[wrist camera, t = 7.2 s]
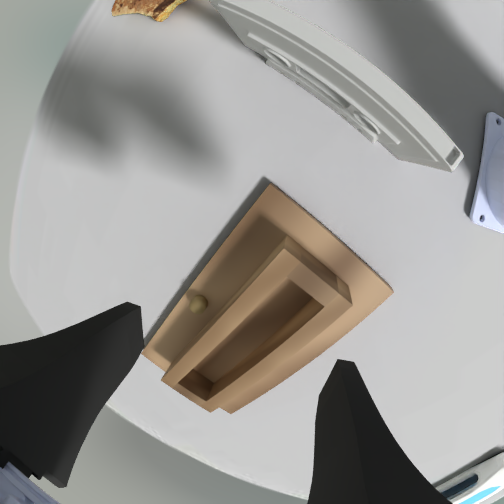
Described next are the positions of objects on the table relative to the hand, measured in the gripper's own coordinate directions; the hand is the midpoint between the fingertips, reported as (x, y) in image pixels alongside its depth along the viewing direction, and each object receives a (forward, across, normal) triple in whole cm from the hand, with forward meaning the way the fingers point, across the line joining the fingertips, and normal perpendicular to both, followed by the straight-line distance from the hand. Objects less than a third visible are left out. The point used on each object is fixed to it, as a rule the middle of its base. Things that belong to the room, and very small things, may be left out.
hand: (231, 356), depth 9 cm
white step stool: (+11, -54, +44) cm, 70 cm away
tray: (+10, +1, +7) cm, 13 cm away
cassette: (+11, -2, -11) cm, 15 cm away
